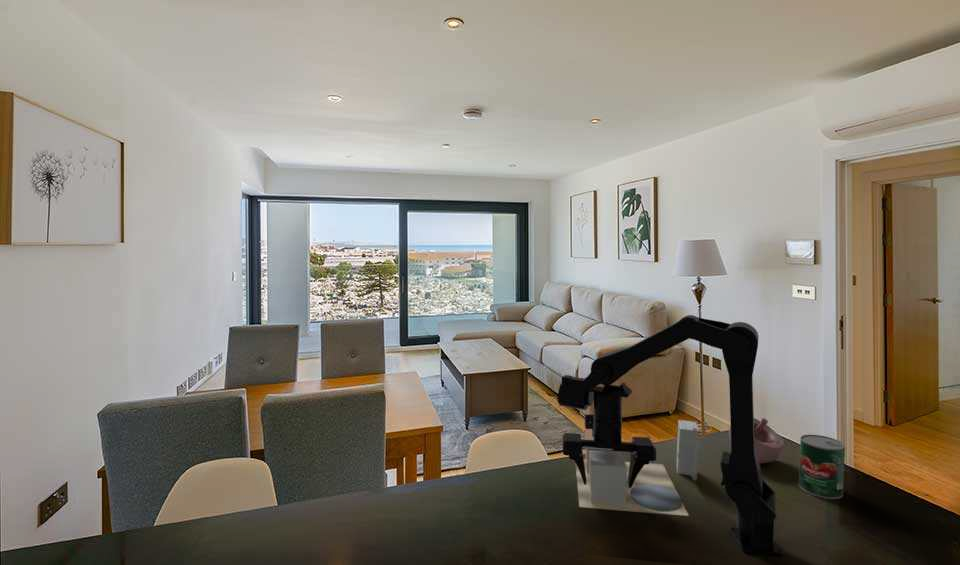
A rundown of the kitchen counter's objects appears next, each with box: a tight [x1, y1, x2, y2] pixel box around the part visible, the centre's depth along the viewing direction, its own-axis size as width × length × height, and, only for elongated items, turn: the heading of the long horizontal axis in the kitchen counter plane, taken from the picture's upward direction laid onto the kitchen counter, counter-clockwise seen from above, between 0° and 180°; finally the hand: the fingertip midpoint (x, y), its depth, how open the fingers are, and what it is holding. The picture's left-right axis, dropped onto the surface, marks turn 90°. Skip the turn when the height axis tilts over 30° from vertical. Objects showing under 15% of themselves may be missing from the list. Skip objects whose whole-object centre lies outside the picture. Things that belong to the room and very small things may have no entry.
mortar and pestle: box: [728, 417, 786, 464], centre depth 113 cm, size 12×12×12 cm
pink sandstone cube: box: [584, 429, 619, 474], centre depth 108 cm, size 7×7×8 cm
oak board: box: [574, 458, 690, 517], centre depth 101 cm, size 22×21×2 cm
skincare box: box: [675, 419, 700, 482], centre depth 107 cm, size 6×4×12 cm
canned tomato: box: [797, 434, 846, 500], centre depth 99 cm, size 8×8×11 cm
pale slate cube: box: [589, 450, 627, 505], centre depth 96 cm, size 7×7×8 cm
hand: (607, 485), depth 96 cm, fingers open, 9 cm apart
